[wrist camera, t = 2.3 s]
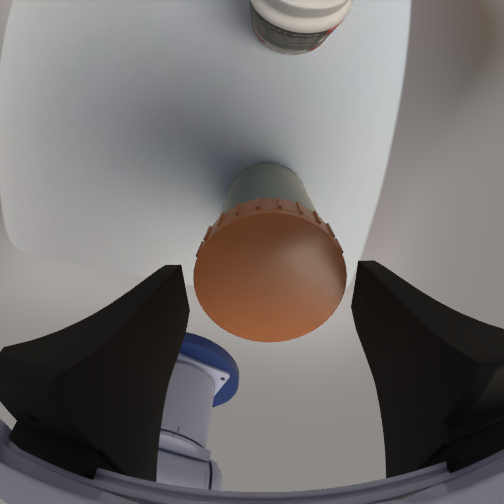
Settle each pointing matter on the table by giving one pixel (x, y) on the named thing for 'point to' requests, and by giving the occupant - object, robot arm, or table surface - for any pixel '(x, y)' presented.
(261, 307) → the lid
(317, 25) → the pill bottle
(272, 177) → the jar
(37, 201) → the table surface
